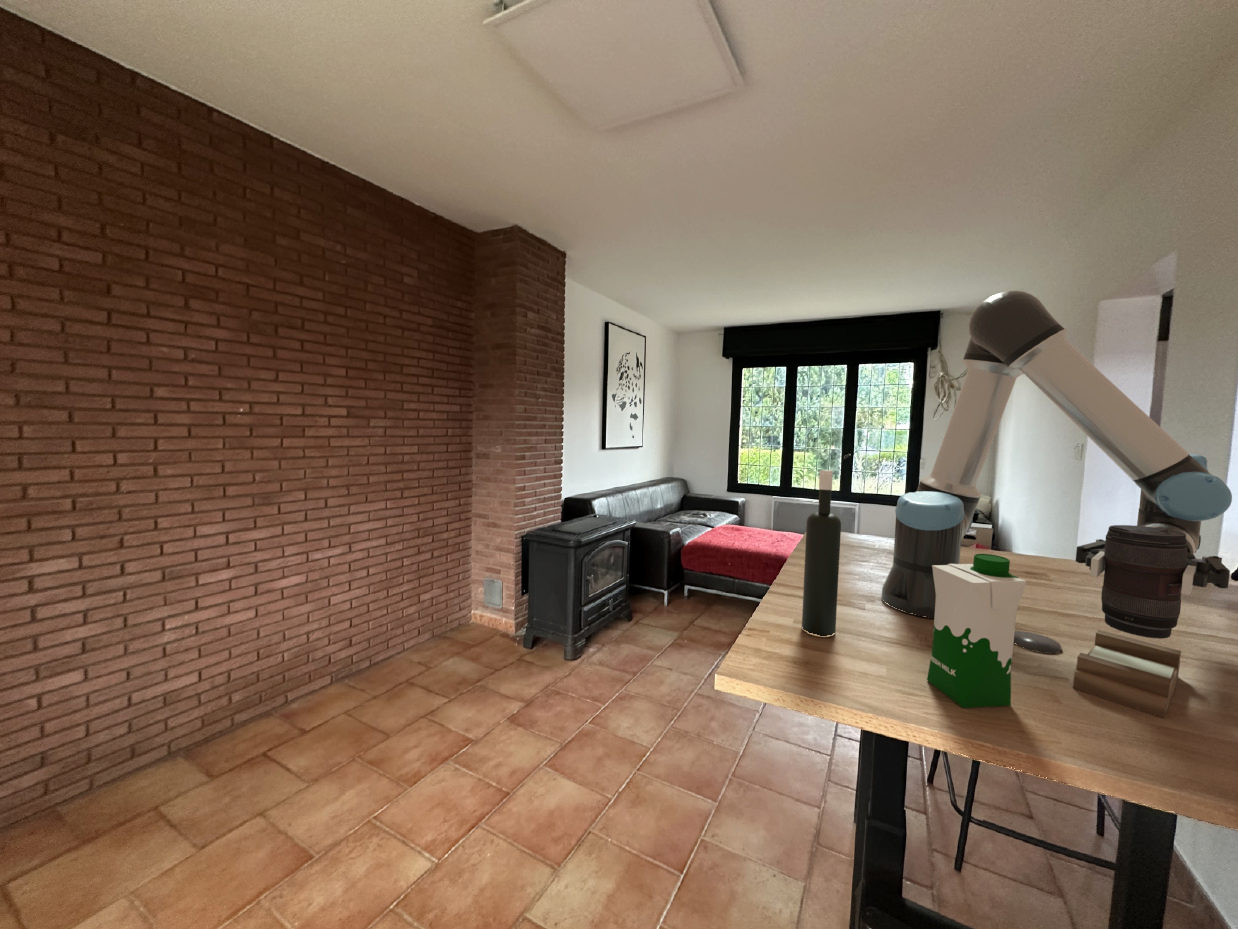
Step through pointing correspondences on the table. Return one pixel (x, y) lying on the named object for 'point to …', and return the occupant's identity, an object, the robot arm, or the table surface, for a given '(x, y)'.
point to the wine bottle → (821, 564)
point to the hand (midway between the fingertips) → (1137, 576)
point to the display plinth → (1129, 672)
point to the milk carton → (975, 630)
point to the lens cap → (1036, 642)
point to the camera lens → (1143, 579)
